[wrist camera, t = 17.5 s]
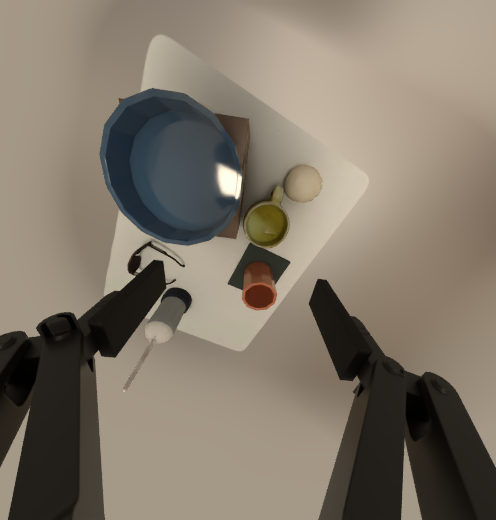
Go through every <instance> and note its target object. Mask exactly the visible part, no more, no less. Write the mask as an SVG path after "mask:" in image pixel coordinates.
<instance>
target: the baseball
mask: <svg viewBox="0 0 496 520" xmlns="http://www.w3.org/2000/svg"><path fill="white" fill-rule="evenodd" d="M321 183H322V178H321V176H320V174H319V172H318V171H317V170H316V169H315V168H313V167H311V166H307V165H300V166H298V167H296V168H294V169H293V170H292V171H291V172H290V173H289V175H288V177H287V179H286V183H285V191H286V194H287V196H288V197H289V198H291V199H292V200H294V201H296V202H307V201H311V200H313V199H314V197H317V196H318V195H319V192H320V190H321V189H322V184H321Z"/></svg>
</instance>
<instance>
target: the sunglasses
mask: <svg viewBox="0 0 496 520" xmlns="http://www.w3.org/2000/svg"><path fill="white" fill-rule="evenodd" d="M151 243H152V242H151V241H150V242H149V243H147V244H145V245H143V246H142V247H140V248H139V249H138V250H136V251H135V252H134V253H133V255H132V256H131V258H130V260H129V262H128V272H129V273H130V274H132V275H135V276H137V275H138V274H139V273H137V272H135V271H136V270H137V269H138V268H139V266H140V261H141V257H140V256H135V255H136V254H139V253H140V252H141V251H142V250H143V249H144V248H146V247H147V246H148V247H151V248H153V249H155V250H157V251H159V252H161V253H163V254H165V255H166V256H168V257H170V258H172V259H173V260H175V261H176V262H177V263H178V264H179V265H180V266H182V267H185V265H182V264H180V263H179V262H178V261H177V260H176V259H174V258H173V257H171V256H170V255H168V254H167V253H166V252H165V251H163V250H161V249H160V248H158V247H156V246H154V245H153V244H151ZM175 281H176V280H175V279H174V280H173V281H172V282H170V283H166V285H168V284H171V283H173V282H175Z"/></svg>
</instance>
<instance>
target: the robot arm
mask: <svg viewBox="0 0 496 520" xmlns="http://www.w3.org/2000/svg"><path fill="white" fill-rule="evenodd" d="M165 289H166V280H165V272H164V264H163V261H159V260H153V261H152V262H151V263H150V264H149V265H148V266H147V267H146V268H145V269H143V270H142V271H141V272H140V273H139V274H138V275H137V276H136V277H135V278H134V279H133V280H131V281H130V282H129V283H128V284H127V285H126V286H125V287H124V288H123V289H122V290H121V291H113V292H111V293H110V294H108V295H106V296H105V297H104V298H102V299H101V300H100V302H98V303H97V304H95V305H94V307H92V308H91V309H90V310H89V311H87V312H86V313H85V314H84V315H83V316H81V318H79V319H78V320H77V319H76V317H75V315H74V314H73V313H71V312H64V313H59V314H56V315H53V316H50V317H48V318H46V319H44V320H43V321H42V322H41V323H39V324H38V326H37V327H36V329H37V331H38V332H39V334H40V336H37V337H30V338H28V336H27V335H26V333H25V332H22V331H15V332H10V333H6V334H3V335H1V336H0V467H1V464H2V462H3V461H4V458H5V456H6V454H7V452H8V450H9V448H10V446H11V444H12V442H13V440H14V438H15V436H16V434H17V432H18V430H19V428H20V426H21V424H22V422H23V420H24V418H25V416H26V414H27V412H28V410H29V408H30V411H29V416H28V421H27V426H26V431H25V437H24V441H23V446H22V452H21V456H20V462H19V467H18V472H17V477H16V482H15V487H14V492H13V497H12V502H11V507H10V512H9V517H8V520H105V517H104V504H103V487H102V471H101V454H100V436H99V422H98V421H99V420H98V403H97V388H96V387H97V386H96V371H95V359H94V355H95V353H96V352H97V351H98V350H99V351H100V354H101V356H104V357H114V358H115V357H116V356H117V355H118V353H119V352H120V350H121V349H122V348H123V346H124V345H125V344H126V342H127V341H128V339H129V338H130V337H131V335H132V334H133V332H134V331H135V330H136V328H137V327H138V326H139V324H140V323H141V322H142V320H143V319H144V318H145V316H146V315H147V314H148V312H149V311H150V309H151V308H152V307H153V305H154V304H155V303H156V301H157V300H158V298H159V297H160V296H161V294H162V293H163V292H164V290H165ZM309 305H310V308H311V310H312V312H313V315H314V317H315V320H316V322H317V325H318V327H319V330H320V332H321V335H322V337H323V339H324V342H325V344H326V347H327V349H328V352H329V354H330V357H331V359H332V361H333V364H334V366H335V369H336V371H337V373H338V376H339V379H340V380H347V381H353V379H354V378H355V377H356V376H358V378H359V380H360V383H359V384H358V386H357V387H356V389H355V390H354V391H353V393H356V394H355V397H354V400H353V404H352V407H351V411H350V414H349V417H348V421H347V424H346V428H345V431H344V434H343V438H342V442H341V445H340V448H339V452H338V455H337V459H336V462H335V465H334V469H333V472H332V476H331V479H330V482H329V486H328V489H327V492H326V496H325V499H324V503H323V506H322V510H321V513H320V516H319V520H401V508H402V483H403V461H404V460H403V459H404V438H405V442H406V446H407V451H408V456H409V461H410V465H411V470H412V474H413V479H414V484H415V488H416V493H417V498H418V503H419V507H420V512H421V516H422V520H496V467H495V465H494V463H493V462H492V460H491V458H490V456H489V454H488V452H487V450H486V448H485V446H484V444H483V442H482V440H481V438H480V436H479V434H478V432H477V430H476V428H475V426H474V424H473V422H472V420H471V418H470V416H469V414H468V412H467V410H466V409H465V407H464V405H463V403H462V401H461V399H460V397H459V395H458V393H457V392H456V390H455V389H454V388H453V386H452V385H450V383H449V382H447V381H446V380H444V379H443V378H442V377H440V376H438V375H436V374H434V373H431V372H425V373H424V374H423V375H422V376H421V377H420V376H418V375H415V374H412V373H410V372H407V371H405V370H404V368H403V367H402V366H401V365H400V364H399V363H398V362H396V361H395V360H393V359H391V358H390V357H387V356H385V355H384V353H383V352H382V350H381V349H380V347H379V346H378V345H377V343H376V342H375V340H374V339H373V338H372V336H370V333H369V332H368V331H367V329H366V328H365V326H364V325H363V323H362V322H361V321H360V320H358V319H357V318H356V317H353V316H350V315H349V314H348V312H347V311H346V309H345V308H344V306H343V305H342V303H341V302H340V300H339V298H338V297H337V295H336V294H335V292H334V291H333V290H332V288H331V286H330V285H329V283H328V282H327V280H322V279H318V280H317V282H316V285H315V288H314V291H313V294H312V296H311V299H310V302H309Z"/></svg>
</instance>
